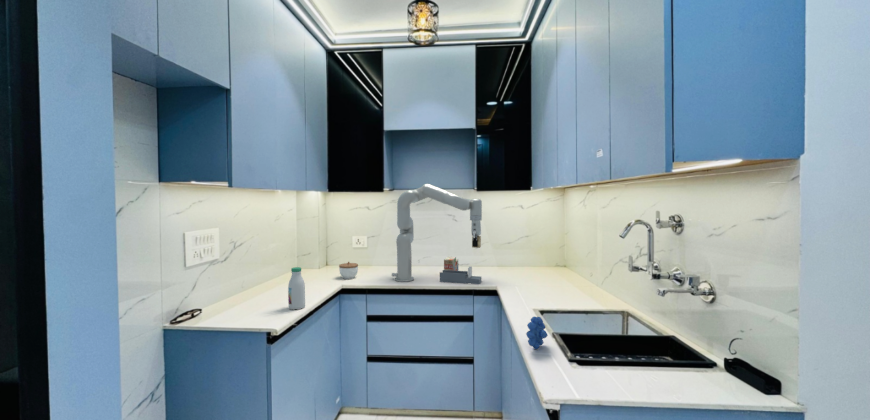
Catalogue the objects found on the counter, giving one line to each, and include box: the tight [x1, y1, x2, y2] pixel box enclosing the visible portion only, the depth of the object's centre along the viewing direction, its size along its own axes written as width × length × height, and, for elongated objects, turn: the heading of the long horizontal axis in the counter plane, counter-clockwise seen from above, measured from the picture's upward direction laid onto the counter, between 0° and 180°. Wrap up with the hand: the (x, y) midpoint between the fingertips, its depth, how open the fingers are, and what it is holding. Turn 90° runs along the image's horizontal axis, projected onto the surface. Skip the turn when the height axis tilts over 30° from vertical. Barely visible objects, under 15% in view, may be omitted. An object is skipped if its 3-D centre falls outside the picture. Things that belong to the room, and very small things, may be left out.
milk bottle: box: [287, 266, 306, 310], centre depth 175 cm, size 8×8×20 cm
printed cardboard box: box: [443, 256, 459, 271], centre depth 252 cm, size 21×6×12 cm, turn 165°
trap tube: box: [439, 269, 482, 285], centre depth 230 cm, size 26×9×6 cm, turn 75°
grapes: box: [525, 316, 548, 350], centre depth 126 cm, size 12×7×12 cm, turn 137°
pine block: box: [471, 235, 482, 249], centre depth 229 cm, size 5×5×7 cm
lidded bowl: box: [338, 261, 359, 280], centre depth 241 cm, size 13×13×11 cm
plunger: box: [466, 266, 473, 278], centre depth 229 cm, size 10×6×6 cm, turn 75°
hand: (475, 245), depth 230 cm, fingers closed on pine block, 5 cm apart
